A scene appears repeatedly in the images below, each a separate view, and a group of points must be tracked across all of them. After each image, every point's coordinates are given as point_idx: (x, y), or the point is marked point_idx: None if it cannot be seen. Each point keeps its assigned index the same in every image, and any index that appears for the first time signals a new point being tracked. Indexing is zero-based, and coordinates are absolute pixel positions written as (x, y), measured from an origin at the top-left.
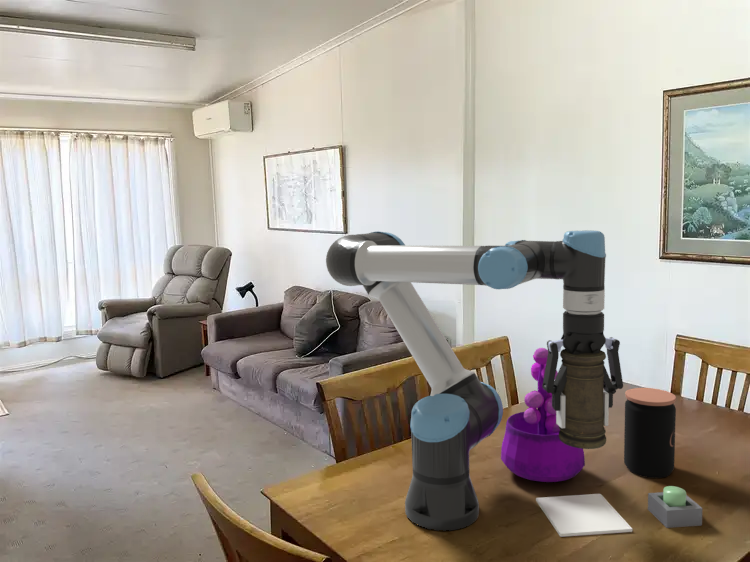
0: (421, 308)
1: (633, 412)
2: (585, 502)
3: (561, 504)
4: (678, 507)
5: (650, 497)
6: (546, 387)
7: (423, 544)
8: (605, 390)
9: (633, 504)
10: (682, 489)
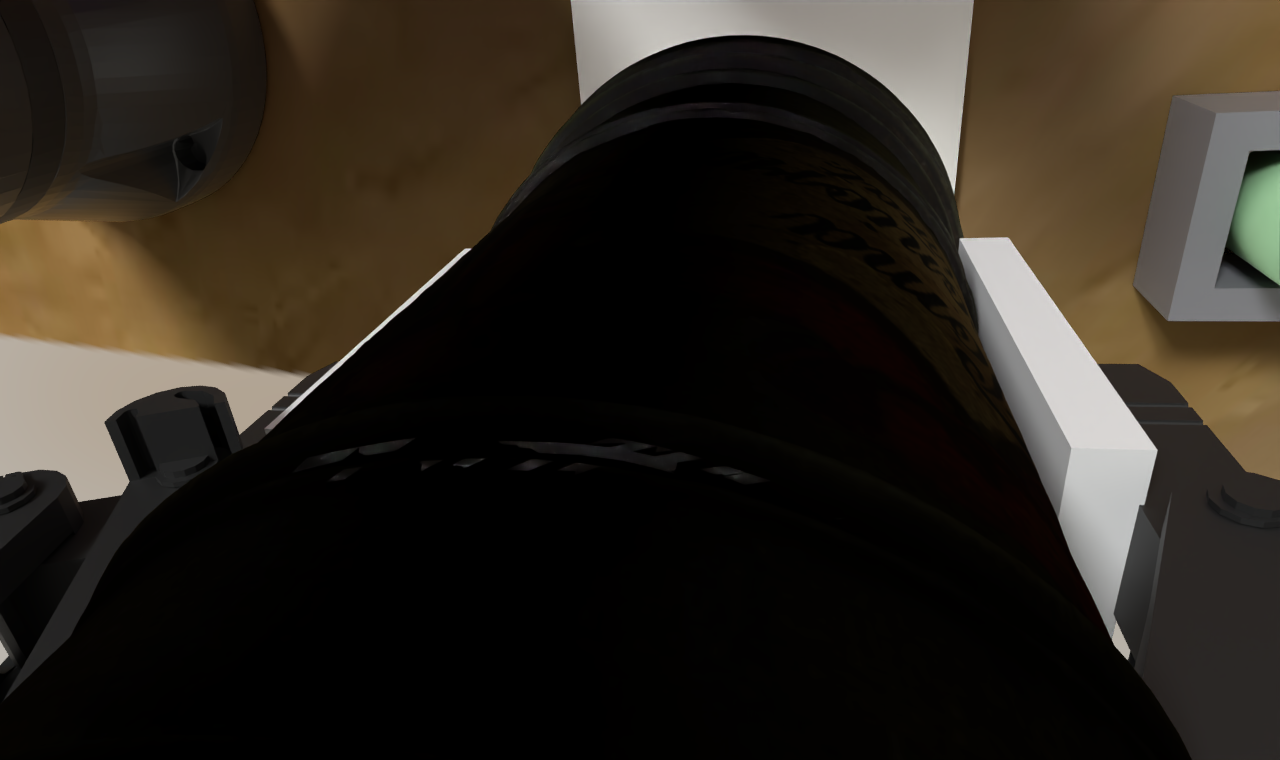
0: None
1: None
2: (833, 17)
3: (688, 29)
4: (1261, 299)
5: (1202, 141)
6: (11, 672)
7: (88, 285)
8: (1129, 578)
9: (1129, 25)
10: None
